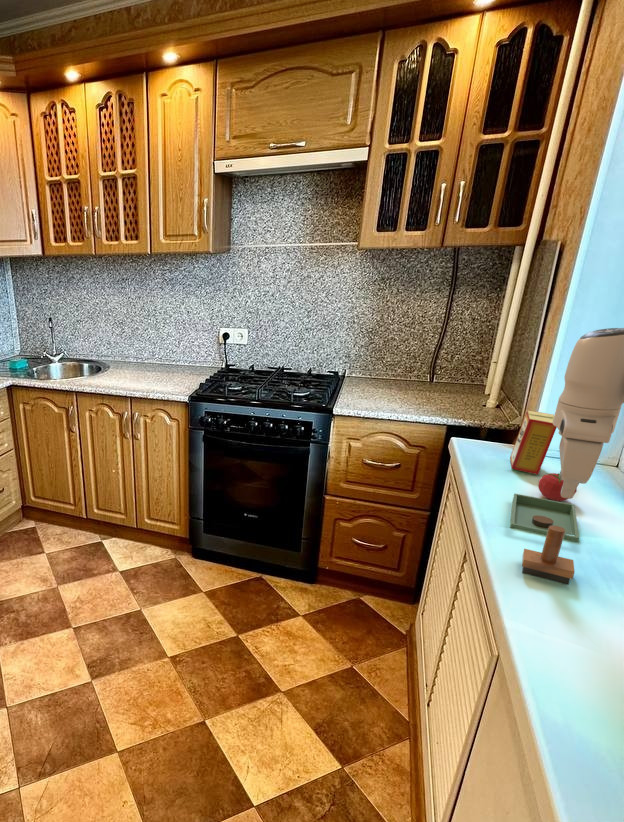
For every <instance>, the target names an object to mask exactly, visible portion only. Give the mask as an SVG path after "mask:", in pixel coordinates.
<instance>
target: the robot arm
mask: <svg viewBox="0 0 624 822" xmlns="http://www.w3.org/2000/svg"><path fill="white" fill-rule="evenodd" d="M623 404H624V327H612V328H611V327H609V328H601V329H596V330H595V329H594V330H592V331H588V332H586V333H585V334H583V335H582V336H580V338H578V340H577V341H576V343H575V345H574V346H573V349H572V351H571V354H570V357H569V360H568V362H567V365H566V370H565V374H564V387H563V391H562V392H561V393H560V395H559V397H558V400H557V404H556V408H555V412H554V414H553V415H554V419H553V425H554V426H556V427H557V428H556V429H557V430H558V434H559V435H560V436H561V438H560V441H559V447H558V448H559V461H560V462H559V463H560V471H559V474H560V475H559V477H560V480H564V482H563V486H562V489H561V497H563V498H568V499H567V500H571V499H573V498H574V496H575V494H574V492H575V490H576V488H578V487H579V485H580V484H583V485H584V484H588V482H589V480H590V478H591V477H592V475H593V473H594V470H595V468H596V466H597V463H598V462H599V461H598V460H599V459H600V456H601V454H602V451H603V447H604V444H609V443H610V441H611V438H612V434H613V433H614V432H615V429H616V427H617V426H616V425H617V422H618V419H619V417H620V412H621V409H622V406H623Z"/></svg>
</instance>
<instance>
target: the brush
mask: <svg viewBox="0 0 624 822" xmlns="http://www.w3.org/2000/svg"><path fill="white" fill-rule="evenodd" d="M564 534H565V529H564V528H562V527H559V526H554V525H552V526H549V528H548V532H547V535H545V539H544V543H543V548H542V550H541V551H536V550H532V549H528V548H523V552H522V558H521V560H522V561H521V567H522V570H521V573H522V574H525V575H529V576H533V577H537V578H540V579H544V580H548V581H552V582H555V583H560V584H563V585H567V586H568V585H569V584H570V581H571V579H572V580H573V579H574V576H575V563H574V562H575V561H574V559H571V558H567V557H562V556H560V552H561V548H562V546H563V545H562V544H563V541H564V539H563V538H564Z"/></svg>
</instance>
